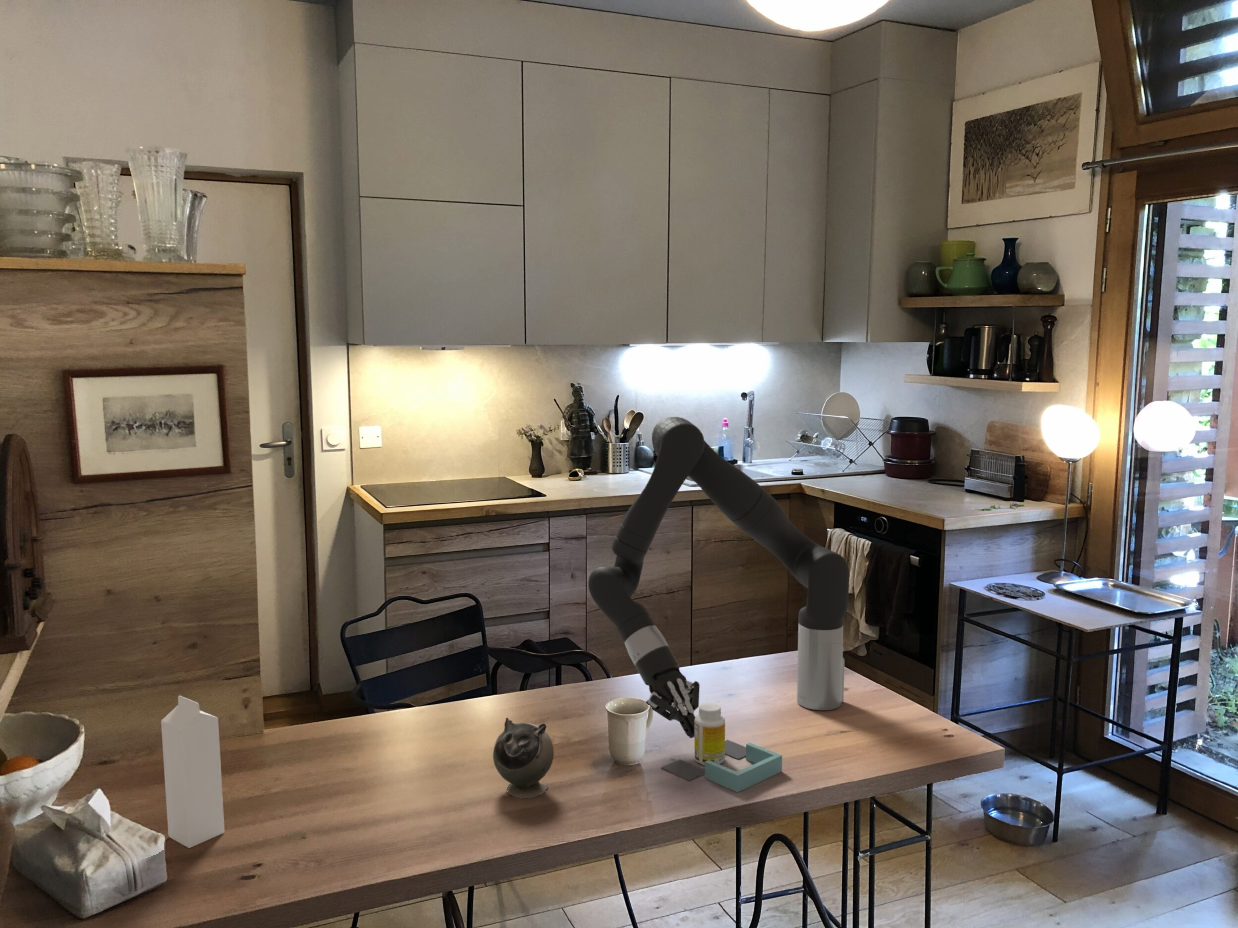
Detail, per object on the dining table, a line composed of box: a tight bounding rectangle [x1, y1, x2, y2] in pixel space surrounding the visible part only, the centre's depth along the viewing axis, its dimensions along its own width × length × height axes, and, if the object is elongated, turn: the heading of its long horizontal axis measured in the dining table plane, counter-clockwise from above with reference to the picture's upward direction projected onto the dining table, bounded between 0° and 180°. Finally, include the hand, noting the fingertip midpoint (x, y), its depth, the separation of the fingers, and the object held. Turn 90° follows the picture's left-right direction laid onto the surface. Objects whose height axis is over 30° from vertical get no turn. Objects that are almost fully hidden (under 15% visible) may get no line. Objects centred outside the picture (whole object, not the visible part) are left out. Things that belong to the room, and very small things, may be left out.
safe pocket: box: [704, 742, 783, 793], centre depth 171 cm, size 12×8×3 cm, turn 132°
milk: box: [160, 695, 225, 849], centre depth 150 cm, size 6×6×22 cm
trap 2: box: [725, 739, 746, 760], centre depth 182 cm, size 5×7×1 cm
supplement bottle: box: [693, 702, 726, 766], centre depth 176 cm, size 6×6×10 cm
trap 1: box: [660, 758, 705, 782], centre depth 173 cm, size 5×7×1 cm
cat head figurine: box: [492, 717, 555, 799], centre depth 165 cm, size 10×12×10 cm
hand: (696, 735), depth 179 cm, fingers closed
